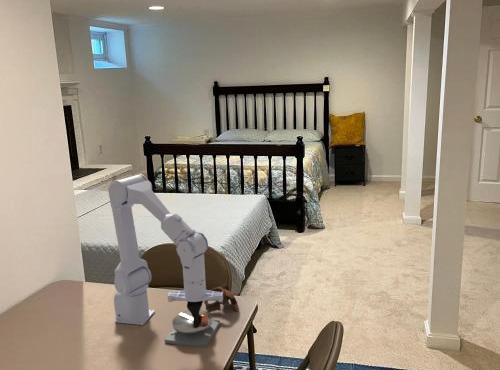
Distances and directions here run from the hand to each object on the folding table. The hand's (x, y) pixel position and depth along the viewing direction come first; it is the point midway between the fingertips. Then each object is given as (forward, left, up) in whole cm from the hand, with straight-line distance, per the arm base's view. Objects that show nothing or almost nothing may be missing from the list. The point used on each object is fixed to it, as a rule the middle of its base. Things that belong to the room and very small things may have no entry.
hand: (197, 324), depth 123 cm
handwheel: (-3, +3, -4) cm, 5 cm away
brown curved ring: (+1, +18, -5) cm, 19 cm away
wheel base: (-3, +3, -5) cm, 6 cm away
